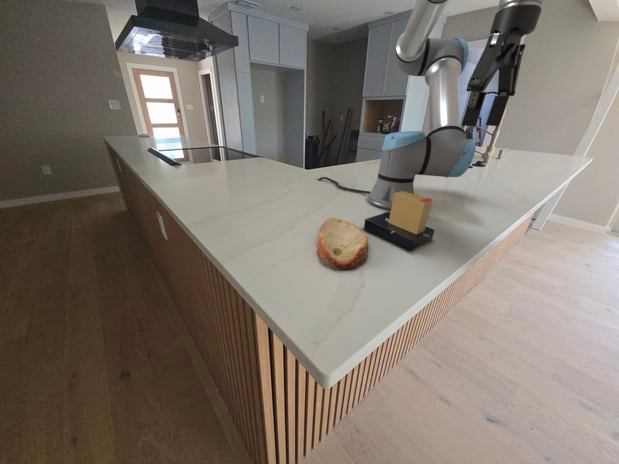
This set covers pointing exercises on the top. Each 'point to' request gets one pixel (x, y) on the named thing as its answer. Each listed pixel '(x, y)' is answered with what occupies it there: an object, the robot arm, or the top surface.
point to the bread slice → (342, 244)
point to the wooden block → (410, 212)
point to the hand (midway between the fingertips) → (481, 126)
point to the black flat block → (397, 232)
